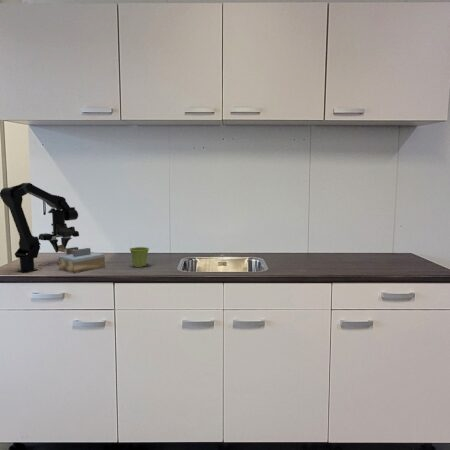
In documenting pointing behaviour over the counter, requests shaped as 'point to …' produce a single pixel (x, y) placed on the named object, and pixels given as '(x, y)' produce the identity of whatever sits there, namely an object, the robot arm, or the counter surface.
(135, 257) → the plant pot
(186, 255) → the counter surface
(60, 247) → the beige long block
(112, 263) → the counter surface
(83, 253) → the lid
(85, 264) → the toolbox
